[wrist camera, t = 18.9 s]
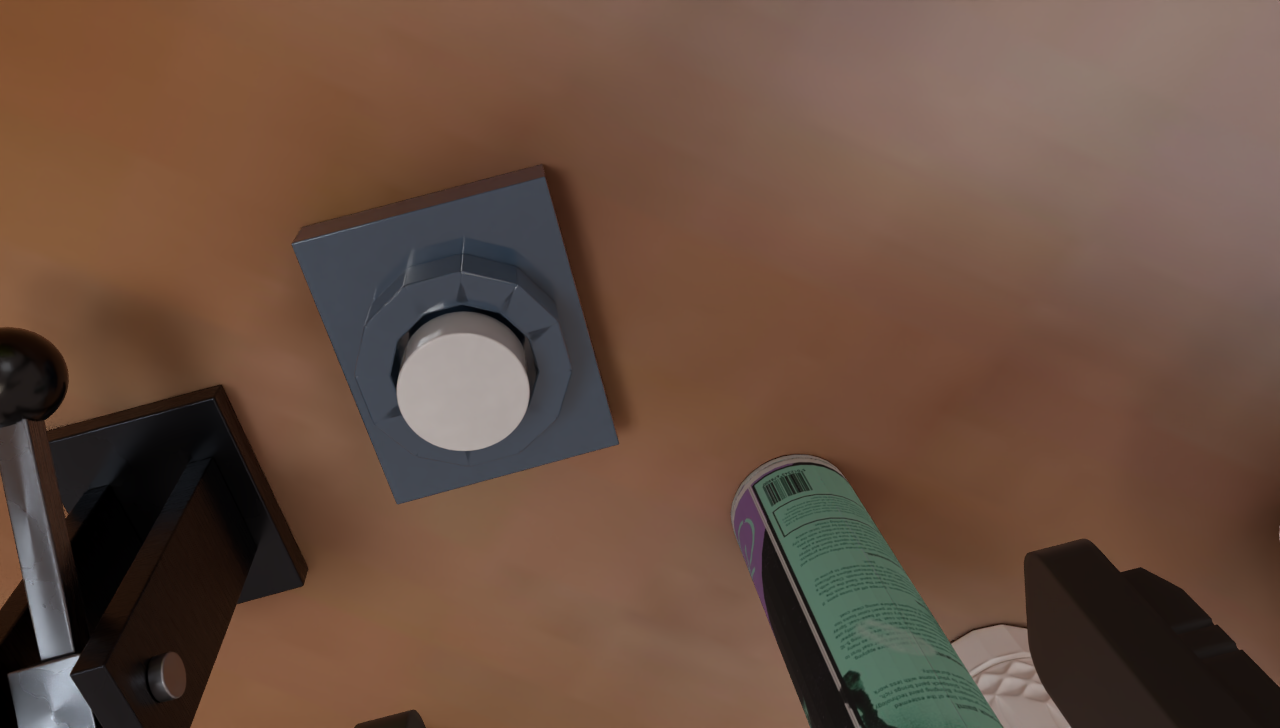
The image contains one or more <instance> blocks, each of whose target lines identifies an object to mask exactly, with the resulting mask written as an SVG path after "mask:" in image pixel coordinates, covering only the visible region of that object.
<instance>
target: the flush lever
mask: <svg viewBox="0 0 1280 728" xmlns="http://www.w3.org/2000/svg"><path fill="white" fill-rule="evenodd" d="M68 383H69V374H68V369H67V365H66V363H65V360H64V358H63V356H62V355H61V353H60V352H59V350H58V349H57V348H56V347H55V346H54V345H53V344H52V343H51V342H50V341H49V340H47V339H46V338H44V337H42V336H41V335H39V334H37V333H34V332H32V331H29V330H25V329H21V328H13V327H2V328H0V472H1V477H2V482H3V487H4V491H5V496H6V501H7V506H8V510H9V515H10V520H11V525H12V530H13V534H14V539H15V544H16V549H17V553H18V558H19V563H20V568H21V572H22V577H23V582H24V587H25V592H26V596H27V601H28V606H29V611H30V615H31V620H32V625H33V630H34V635H35V639H36V644H37V649H38V654H39V658H40V661H41V662H39V663H36V664H33V665H30V666H27V667H24V668H21V669H18V670H16V671H13V672H10V673H8V674H7V678H8V683H9V688H10V693H11V698H12V702H13V707H14V712H15V717H16V722H17V727H18V728H103V727H102V726H101V724H100V723H99V721H98V719H97V718H96V716H95V715H94V713H93V712H92V710H91V708H90V707H89V705H88V704H87V702H86V701H85V699H84V697H83V696H82V694H81V693H80V691H79V690H78V688H77V687H76V685H75V683H74V682H73V680H72V679H71V677H70V673H71V671H72V669H73V667H74V665H75V664H76V662H77V660H78V658H79V657H80V655H81V653H82V651H83V649H84V648H85V646H86V644H87V642H88V641H89V639H90V637H91V636H90V631H89V627H88V622H87V617H86V613H85V608H84V603H83V599H82V594H81V589H80V585H79V580H78V575H77V571H76V566H75V561H74V557H73V552H72V547H71V543H70V538H69V533H68V529H67V524H66V519H65V515H64V510H63V505H62V501H61V496H60V491H59V487H58V482H57V478H56V473H55V468H54V464H53V459H52V454H51V450H50V445H49V440H48V436H47V431H46V426H45V422H44V420H45V419H47V418H48V417H50V416H51V415H52V414H53V413H54V412H55V411H56V410H57V409H58V407H59V406H60V405H61V403H62V401H63V400H64V398H65V395H66V393H67V389H68Z"/></svg>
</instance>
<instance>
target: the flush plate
mask: <svg viewBox="0 0 1280 728" xmlns="http://www.w3.org/2000/svg"><path fill="white" fill-rule="evenodd" d="M292 247H293V249H294V252H295V254H296V257H297V259H298V262H299V264H300V267H301V269H302V272H303V274H304V277H305V279H306V282H307V284H308V286H309V289H310V291H311V294H312V296H313V299H314V301H315V304H316V306H317V309H318V311H319V314H320V316H321V318H322V321H323V323H324V326H325V328H326V331H327V333H328V336H329V338H330V341H331V343H332V346H333V348H334V351H335V353H336V355H337V358H338V360H339V363H340V365H341V368H342V370H343V373H344V375H345V378H346V380H347V383H348V385H349V388H350V390H351V392H352V395H353V397H354V400H355V402H356V405H357V407H358V410H359V412H360V415H361V417H362V420H363V422H364V424H365V427H366V429H367V432H368V434H369V437H370V439H371V442H372V444H373V447H374V449H375V452H376V454H377V457H378V459H379V461H380V464H381V466H382V469H383V471H384V474H385V476H386V479H387V481H388V484H389V486H390V489H391V491H392V494H393V496H394V498H395V501H396V503H397V504H401V503H405V502H409V501H412V500H416V499H420V498H423V497H427V496H431V495H434V494H438V493H442V492H445V491H449V490H453V489H456V488H460V487H464V486H467V485H471V484H475V483H478V482H482V481H486V480H489V479H493V478H497V477H500V476H504V475H508V474H511V473H515V472H519V471H522V470H526V469H530V468H533V467H537V466H541V465H544V464H548V463H552V462H555V461H559V460H563V459H566V458H570V457H574V456H577V455H581V454H585V453H589V452H592V451H596V450H600V449H603V448H607V447H611V446H614V445H618V444H619V440H618V436H617V432H616V428H615V424H614V420H613V416H612V413H611V409H610V406H609V402H608V398H607V395H606V391H605V388H604V384H603V380H602V377H601V373H600V369H599V366H598V362H597V359H596V355H595V351H594V348H593V344H592V341H591V337H590V333H589V330H588V326H587V323H586V319H585V315H584V312H583V308H582V305H581V301H580V297H579V294H578V290H577V287H576V283H575V279H574V276H573V272H572V268H571V265H570V261H569V258H568V254H567V250H566V247H565V243H564V240H563V236H562V232H561V229H560V225H559V222H558V218H557V214H556V211H555V207H554V204H553V200H552V196H551V193H550V189H549V186H548V182H547V178H546V175H545V171H544V168H543V165H542V164H540V165H537V166H533V167H529V168H525V169H521V170H518V171H514V172H510V173H506V174H502V175H499V176H495V177H491V178H487V179H483V180H480V181H476V182H472V183H468V184H464V185H461V186H457V187H453V188H449V189H446V190H442V191H438V192H434V193H430V194H427V195H423V196H419V197H415V198H411V199H408V200H404V201H400V202H396V203H392V204H389V205H385V206H381V207H377V208H373V209H370V210H366V211H362V212H358V213H355V214H351V215H347V216H343V217H339V218H336V219H332V220H328V221H324V222H320V223H317V224H313V225H309V226H305V227H302V228H301V229H300V231H299V232H298V234H297V236H296V237H295V239H294V240H293V242H292ZM461 311H466V312H476V313H481V314H484V315H488V316H490V317H492V318H495V319H497V320H498V321H500V322H502V323H503V324H504V325H506V326H507V327H508V328H509V329H510V330H511V331H512V332H513V333H514V334H515V335H516V336H517V338H518V339H519V340H520V342H521V344H522V346H523V348H524V350H525V353H526V357H527V362H528V374H529V386H530V398H529V403H528V408H527V410H526V413H525V415H524V417H523V419H522V421H521V422H520V424H519V425H518V426H517V428H516V429H515V430H514V431H513V432H512V433H511V434H509V435H508V436H507V437H506V438H504V439H503V440H501V441H500V442H498V443H496V444H494V445H492V446H489V447H486V448H483V449H478V450H472V451H455V450H448V449H444V448H441V447H438V446H435V445H433V444H431V443H429V442H427V441H426V440H424V439H423V438H421V437H420V436H419V435H417V434H416V433H415V432H414V431H413V430H412V429H411V428H410V426H409V425H408V424H407V423H406V421H405V420H404V418H403V416H402V414H401V412H400V409H399V406H398V402H397V395H396V387H397V380H398V375H399V370H400V366H401V361H402V356H403V353H404V350H405V347H406V345H407V343H408V341H409V340H410V338H411V337H412V335H413V334H414V333H415V332H416V331H417V330H418V329H419V328H420V327H421V326H422V325H424V324H425V323H427V322H428V321H430V320H431V319H434V318H436V317H438V316H441V315H444V314H447V313H452V312H461Z"/></svg>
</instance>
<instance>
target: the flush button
mask: <svg viewBox="0 0 1280 728" xmlns="http://www.w3.org/2000/svg"><path fill="white" fill-rule="evenodd" d="M396 395H397V402H398V406H399V409H400V412H401V414H402V416H403V418H404V420H405V421H406V423H407V424H408V425H409V426H410V428H411V429H412V430H413V431H414V432H415V433H416V434H417V435H419V436H420V437H421V438H423V439H424V440H426V441H427V442H429V443H431V444H433V445H435V446H438V447H441V448H444V449H448V450H455V451H472V450H478V449H483V448H486V447H489V446H492V445H494V444H496V443H498V442H500V441H501V440H503V439H504V438H506V437H507V436H508V435H509V434H511V433H512V432H513V431H514V430H515V429H516V428H517V426H518V425H519V424H520V422H521V421H522V419H523V417H524V415H525V413H526V410H527V408H528V403H529V398H530V386H529V374H528V362H527V357H526V353H525V350H524V348H523V346H522V344H521V342H520V340H519V339H518V338H517V336H516V335H515V334H514V333H513V332H512V331H511V330H510V329H509V328H508V327H507V326H506V325H504V324H503V323H502V322H500V321H498V320H497V319H495V318H492V317H490V316H488V315H484V314H481V313H476V312H466V311H461V312H452V313H447V314H444V315H441V316H438V317H436V318H434V319H431V320H430V321H428V322H427V323H425V324H424V325H422V326H421V327H420V328H419V329H418V330H417V331H416V332H415V333H414V334H413V335H412V337H411V338H410V340H409V341H408V343H407V345H406V347H405V350H404V353H403V356H402V361H401V366H400V370H399V375H398V380H397V387H396Z"/></svg>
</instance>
